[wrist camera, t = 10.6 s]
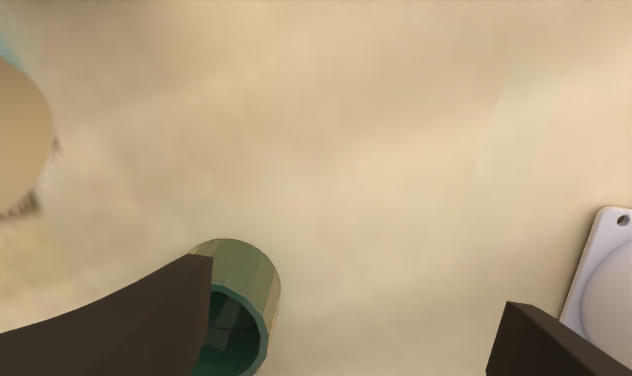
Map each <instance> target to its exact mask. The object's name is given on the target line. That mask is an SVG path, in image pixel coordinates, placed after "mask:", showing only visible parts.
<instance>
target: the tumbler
mask: <svg viewBox="0 0 632 376" xmlns="http://www.w3.org/2000/svg"><path fill="white" fill-rule="evenodd" d="M189 254H196V255H203V256H209V257H213V269H212V281H211V293H210V305H209V317H208V329H207V332H206V335H205V338H204V341H203V344H202V347H201V350H200V353H199V355H198V358H197V361H196V364H195V366H194V368H193V370H192V372H191V374H190V376H253V375H254V374H255V373H256V372H257V370H258V369H259V367H260V366H261V364H262V363H263V361H264V360H265V358H266V356H267V352H268V348H269V344H270V339H271V335H272V331H273V326H274V322H275V317H276V313H277V309H278V303H279V297H280V280H279V276H278V274H277V271H276V269H275V267H274V265H273V264H272V262H271V261H270V260H269V259H268V257H267V256H266V255H265V254H264V253H262V252H261V251H260V250H259V249H257V248H255V247H254V246H252V245H250V244H248V243H245V242H242V241H239V240H234V239H216V240H211V241H208V242H205V243H203V244H200V245H199V246H197V247H195V248H194V249H193V250H192V251H190V252H189Z"/></svg>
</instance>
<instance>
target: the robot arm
mask: <svg viewBox="0 0 632 376" xmlns="http://www.w3.org/2000/svg"><path fill="white" fill-rule="evenodd" d="M621 216H624V219H623V221H622V222H620V223H617V220H618V218H619V217H621ZM212 269H213V257H209V256H203V255H196V254H186V255H184V256H182V257H180V258H178V259H177V260H175V261H173V262H171V263H169V264H168V265H166V266H164V267H162V268H160V269H159V270H157V271H155V272H153V273H151V274H150V275H148V276H146V277H144V278H142V279H140V280H139V281H137V282H135V283H133V284H131V285H129V286H127V287H125V288H123V289H120V290H118V291H116V292H114V293H112V294H110V295H108V296H106V297H104V298H102V299H100V300H97V301H95V302H93V303H90V304H88V305H86V306H83V307H81V308H78V309H76V310H73V311H70V312H67V313H65V314H62V315H59V316H57V317H54V318H51V319H48V320H45V321H42V322H38V323H35V324H31V325H28V326H25V327H21V328H18V329H14V330H11V331H8V332H4V333H1V334H0V376H190V374H191V372H192V370H193V368H194V366H195V364H196V361H197V358H198V355H199V353H200V350H201V347H202V344H203V341H204V338H205V335H206V332H207V329H208V317H209V305H210V293H211V281H212ZM485 371H486V375H487V376H632V209H627V208H621V207H614V206H606V207H603V208H602V209H600V210H599V211H598V213H597V215H596V217H595V220H594V223H593V226H592V229H591V231H590V234H589V237H588V240H587V243H586V246H585V248H584V251H583V254H582V257H581V260H580V262H579V265H578V268H577V271H576V274H575V277H574V279H573V282H572V285H571V288H570V291H569V294H568V296H567V299H566V302H565V305H564V308H563V311H562V313H561V316H560V319H559V321H558V320H557V319H555V318H554V317H552V316H551V315H549V314H547V313H546V312H544V311H542V310H541V309H539V308H537V307H535V306H533V305H530V304H523V303H516V302H510V301H507V302H506V306H505V309H504V312H503V315H502V319H501V322H500V325H499V328H498V332H497V335H496V338H495V341H494V344H493V348H492V351H491V354H490V357H489V361H488V364H487V367H486V370H485Z"/></svg>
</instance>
